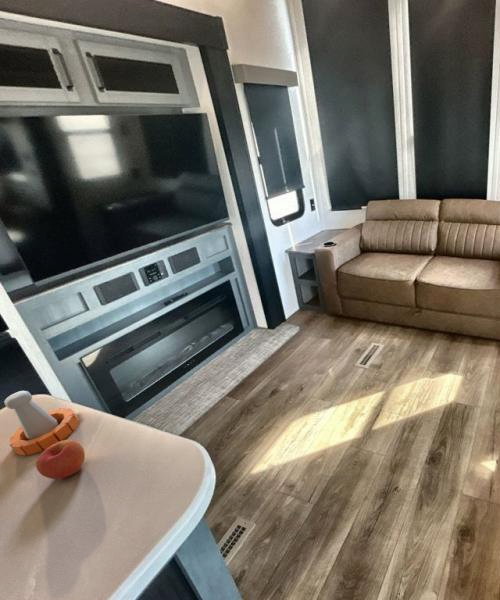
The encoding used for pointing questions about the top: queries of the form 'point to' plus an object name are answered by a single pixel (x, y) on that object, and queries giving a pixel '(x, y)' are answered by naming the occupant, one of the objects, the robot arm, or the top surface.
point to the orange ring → (57, 434)
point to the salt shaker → (30, 415)
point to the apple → (61, 459)
